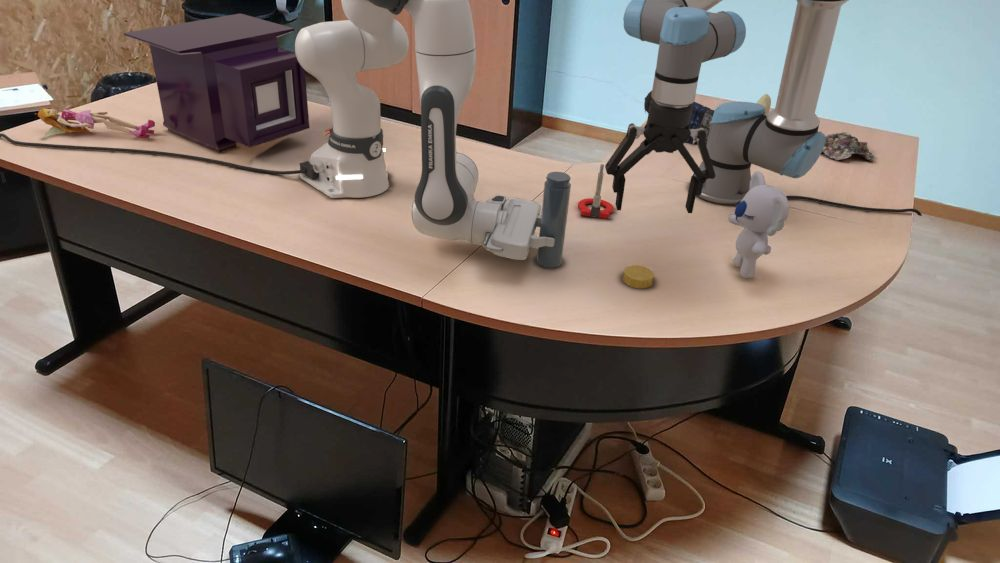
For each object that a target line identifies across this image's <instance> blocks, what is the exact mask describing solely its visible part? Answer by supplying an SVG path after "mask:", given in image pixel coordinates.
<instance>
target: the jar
mask: <svg viewBox="0 0 1000 563" xmlns="http://www.w3.org/2000/svg"><path fill="white" fill-rule="evenodd" d="M545 178H546V180H545V181H544V184H543V194H542V202H541V203H542V204H541V212H540V215H541V223H540V227H539V233H538V237H546V235H550V236H554V237H555V243H554V246H553V247H549V246H543V247H538V248H537V255H536V262H537V264H538V265H539V266H540V267H543V268H547V269H556V268H558V267H560V266H561V265H562V262H563V255H564V254H563V253H564V246H565V237H566V231H567V230H566V229H567V221H568V213H569V204H570V198H571V197H570V196H571V187H572V184H571V182H570V181H571V176H570V175H569V174H568V173H567V172H563V171H550V172H549V173H547V174H546V177H545Z"/></svg>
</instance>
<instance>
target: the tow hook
mask: <svg viewBox="0 0 1000 563" xmlns="http://www.w3.org/2000/svg"><path fill="white" fill-rule="evenodd" d="M604 169H605V164H604V163H600V166H599V172H598V174H597V180H596V187H595V192H594V193H595V194H594V195H593V198H591V197H590V198H583V199H581V200H579V201H578V203H577V208H578V209H579V210H580V216H587V217H592V218H601V219H603V218H604V219H609V218H610V214H612V213H613V211H614V205H613V204H612V203H611V202H609V201H607V200H605V199H602V187H603V180H604ZM588 204H589V205H590V204H591V206H590V207H587V206H586V205H588ZM602 206H603V207H604V209H601V207H602Z"/></svg>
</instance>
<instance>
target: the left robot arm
mask: <svg viewBox="0 0 1000 563" xmlns="http://www.w3.org/2000/svg"><path fill="white" fill-rule="evenodd" d="M340 2H341V8H342V11H343V13H344V15H345V17H346V18H347V19H345V20H344V19H343V20H332V21H331V20H330V21H321V22H318V23H314V24H311V25H308V26H305V27H302V28H301V29H300V30H299V31H298V33H297V35H296V37H295V42H294V52H295V54H296V57H297V60H298V62H299V63H300V65H301V66H302V68H303V69H304V70H305V72H307V73H308V74H309V75H311V76H313V77H314V78H315V79H316V80H317V81H318V82H319V83H320V84H321V85H322V87H323V88H324V90H325V92H326V94H327V96H328V99H329V105H330V113H331V121H332V127H331V128H328V129H326V130H324V132H326V133H324V135H325V136H328V135H329V137H328V141H327V142H326V143H324V144H323V145H321V146H320V147H318V148H317V149H316V150H314V151H313V152H312V153H311V155H310V158H309V161H308V160H306V161H302V162H299V170H271V169H263V168H257V167H252V166H246V165H241V164H237V163H232V162H229V161H223V160H218V159H212V158H207V157H202V156H197V155H190V154H184V153H176V152H167V151H157V150H148V149H147V150H146V149H136V148H124V147H123V148H120V147H107V146H106V147H105V146H88V145H87V146H86V145H70V144H69V145H68V144H55V143H41V142H26V141H18V140H14V139H11V138H10V137H9V136H8V135H7V134H6V133H0V139H1V138H4V139H5V140H6V141H7V142H9V143H11V144H13V145H19V146H25V147H41V148H54V149H68V150H69V149H70V150H87V151H107V152H121V153H136V154H149V155H159V156H168V157H176V158H182V159H190V160H197V161H203V162H207V163H211V164H212V163H213V164H219V165H222V166H227V167H231V168H237V169H239V170H245V171H251V172H256V173H263V174H269V175H270V174H271V175H282V176H283V175H299V174H300V176H299V177H300V179H301V180H302V181H304V182H306V183H307V184H309V185H310V186H311V187H313V188H314V189H317V190H318V191H319V192H322V193H323V194H324V195H325V196H327V197H328V198H331V199H341V198H353V199H354V198H355V199H359V198H369V197H370V198H371V197H374V196H378V195H381V194H382V193H385V192H386V191H387V190H388V189H389V188H390V182H389V178H388V177H389V173H388V170H387V168H386V161H385V154H384V152H386V148H383V147H384V131H383V129H382V120H381V117H382V116H381V102H380V101H381V100H380V98H379V96H378V95H377V93H376V92H375V91H374V90H373V89H371V88H370V87H367V86H366V85H362V84H361V83H359V82H358V78H357V74H358V73H359V72H368V71H377V70H383V69H387V68H390V67H392V66H393V67H394V66H396V65H398V64H401V63H402V62H404V61H405V59H406V57H407V55H408V52H409V48H410V42H409V36H408V33H407V31H406V29H405V27H404V26H403V25H402V24H401V22H400V21H398V20H397V19H395V17H396V16H399V15H400V14H401V13H402V11H403V10H406V11H407V12H408V14H409V15H410V17H411V19H412V22H413V28H414V29H413V30H414V50H415V63H416V73H417V81H418V90H419V103H420V104H419V105H420V134H421V135H420V138H421V139H420V140H421V176H420V180H419V182H418V184H417V187H416V190H415V193H414V199H413V202H412V205H411V220H412V224H413V226H414V228H415V229H416V231H417V232H418V233H420V234H422V235H424V236H427V237H431V238H435V239H440V240H445V241H451V242H454V241H464V242H467V243H470V244H473V245H481V246H482V247H483V248H484V249H485V250H486V252H487V251H488V252H491V253H492V254H493V255H495V256H497V257H502V258H507V259H510V260H515V261H524V260H527V258H528V255H529V252H530V249H531V248H533V249H538V247H543V246H549V247H553V246H554V243H555V237H554V236H550V235H546V237H539V236H538V235H537V234H535V233H536V230H537V228H540V223H541V210H542V204H540V203H539V202H537V201H535V200H531V199H526V198H524V199H523V198H519V197H509V198H507V196H506V194H496V195H494V196H493V197H492V198H490V199H488V200H485V201H480V200H476V199H475V196H474V195H475V192H476V188H477V186H478V183H479V169H478V167H477V165H476V163H475V161H474V160H473V159H472V158H470V156H468V155H466V154H464V153H461V152H457V127H458V126H457V125H458V121H459V118H460V115H461V111H462V110H463V109H462V108H463V106H464V104H465V102H466V100H467V98H468V95H469V94H470V92H471V89H472V87H473V84H474V80H475V79H474V78H475V73H476V72H475V71H476V60H477V58H476V56H477V55H476V54H477V53H476V36H475V27H474V20H473V14H472V9H471V5H470V1H469V0H341V1H340ZM0 178H1V181H2V184H5V183H6V182H7V180H6V176H5V172H3V171H1V170H0Z"/></svg>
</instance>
